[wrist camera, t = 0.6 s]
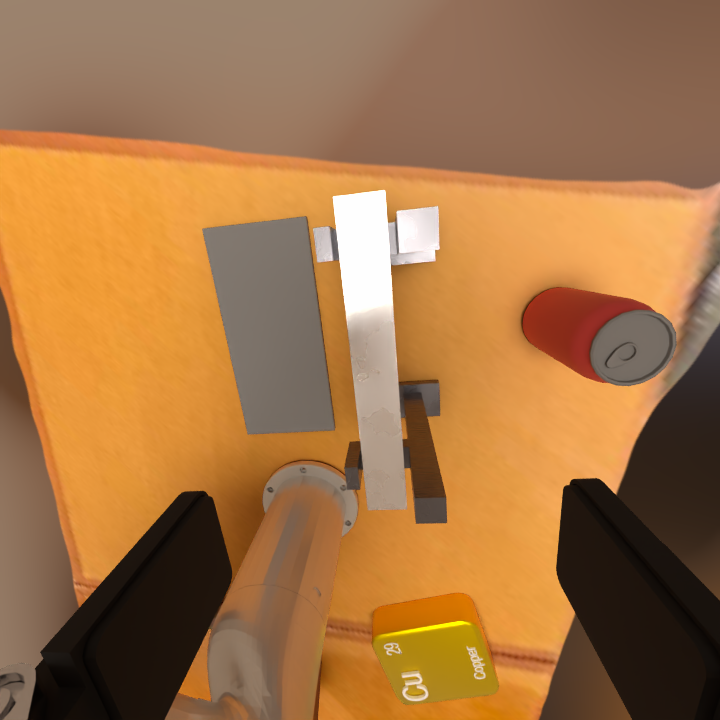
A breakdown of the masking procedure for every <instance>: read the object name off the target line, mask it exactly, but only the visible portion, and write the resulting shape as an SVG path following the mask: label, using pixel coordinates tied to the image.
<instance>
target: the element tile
mask: <svg viewBox="0 0 720 720" xmlns="http://www.w3.org/2000/svg"><path fill="white" fill-rule="evenodd" d="M372 647H373V649H374V651H375V653H376V655H377V657H378V659H379V661H380V663H381V666H382V668H383V670H384V672H385V674H386V676H387V678H388V680H389V682H390V684H391V686H392V688H393V690H394V693H395V695H396V697H397V698H398V699H399V700H400V701H401V702H402V703H403V704H406V705H414V704H422V703H431V702H439V701H447V700H455V699H463V698H471V697H480V696H487V695H492V694H495V693H496V692H497V690H498V688H499V681H498V678H497V674H496V670H495V666H494V662H493V658H492V654H491V651H490V648H489V645H488V643H487V640H486V637H485V634H484V631H483V628H482V626H481V623H480V620H479V617H478V614H477V611H476V609H475V606H474V603H473V601H472V599H471V598H470V597H469V596H468V595H466V594H462V593H453V594H447V595H441V596H436V597H430V598H425V599H419V600H414V601H408V602H403V603H397V604H392V605H386V606H381V607H379V608H377V609H375V611H374V612H373V624H372Z"/></svg>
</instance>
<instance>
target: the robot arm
mask: <svg viewBox="0 0 720 720" xmlns="http://www.w3.org/2000/svg"><path fill="white" fill-rule="evenodd" d="M262 503H263V508H264V512H265V516H264V518H263V520H262V522H261V524H260V526H259V529H258V531H257V533H256V535H255V537H254V539H253V541H252V543H251V545H250V547H249V549H248V551H247V554H246V556H245V558H244V560H243V562H242V564H241V566H240V568H239V570H238V572H237V574H236V577H235V579H234V581H233V583H232V585H231V587H230V589H229V591H228V593H227V595H226V598H225V600H224V602H223V604H222V606H221V608H220V610H219V612H218V614H217V617H216V619H215V621H214V624H213V627H212V630H211V634H210V638H209V644H208V653H207V669H208V680H209V688H210V695H211V702H210V701H207V700H203V699H200V698H198V700H197V699H195V698H192V697H189V696H186V695H183V694H180V693H178V691H179V689H180V687H181V685H182V683H183V681H184V679H185V677H186V675H187V673H188V670H189V668H190V666H191V664H192V662H193V660H194V658H195V656H196V654H197V652H198V650H199V648H200V646H201V644H202V642H203V639H204V637H205V635H206V633H207V631H208V629H209V627H210V625H211V623H212V621H213V619H214V617H215V615H216V613H217V611H218V608H219V606H220V604H221V602H222V600H223V598H224V596H225V594H226V592H227V590H228V588H229V586H230V583H231V579H232V568H231V564H230V561H229V557H228V553H227V549H226V546H225V542H224V538H223V534H222V531H221V527H220V523H219V519H218V516H217V512H216V508H215V504H214V501H213V498H212V497H210V496H208V494H207V493H206V492H205V491H188V492H182V493H181V494H180V495H179V496H178V497H177V498H176V499H175V500H174V501H173V503H172V504H171V505H170V506H169V507H168V508H167V509H166V511H165V512H164V513H163V514H162V515H161V516H160V517H159V518H158V520H157V521H156V522H155V523H154V524H153V525H152V526H151V527H150V529H149V530H148V531H147V532H146V533H145V534H144V535H143V537H142V538H141V539H140V540H139V541H138V542H137V543H136V544H135V546H134V547H133V548H132V549H131V550H130V551H129V552H128V554H127V555H126V556H125V557H124V558H123V559H122V560H121V561H120V563H119V564H118V565H117V566H116V567H115V568H114V569H113V570H112V572H111V573H110V574H109V575H108V576H107V577H106V578H105V580H104V581H103V582H102V583H101V584H100V585H99V586H98V587H97V589H96V590H95V591H94V592H93V593H92V594H91V595H90V597H89V598H88V599H87V600H86V601H85V602H84V603H83V604H82V606H81V607H80V608H79V609H78V610H77V611H76V612H75V613H74V615H73V616H72V617H71V618H70V619H69V620H68V621H67V623H66V624H65V625H64V626H63V627H62V628H61V630H60V631H59V632H58V633H57V634H56V635H55V636H54V637H53V638H52V639H51V641H50V642H49V643H48V644H47V645H46V646H45V648H44V649H43V650H42V651H41V652H40V653H41V654H42V656H43V658H44V659H43V660H42V661H41V662H40V663H39V665H38V666H37V667H36V668H35V669H34V668H33V667H32V666H31V665H30V664H25V663H18V664H14V665H9V666H6V667H4V668H2V669H0V720H313V715H314V706H315V698H316V690H317V682H318V676H319V669H320V663H321V656H322V650H323V644H324V638H325V633H326V627H327V621H328V615H329V609H330V603H331V597H332V591H333V585H334V579H335V573H336V567H337V561H338V555H339V549H340V543H341V538H342V537H343V536H344V535H345V534H347V533H348V532H349V531H350V529H351V528H352V527H353V525H354V523H355V521H356V518H357V514H358V505H359V504H358V497H357V494H356V491H355V490H347V484H346V477H345V475H343V474H342V473H341V472H340V471H338V470H337V469H335V468H333V467H331V466H329V465H326V464H323V463H321V462H315V461H298V462H292V463H290V464H287V465H284V466H283V467H281V468H279V469H278V470H277V471H276V472H275V473H274V474H273V475H272V476H271V477H270V479H269V480H268V482H267V484H266V486H265V488H264V492H263V501H262ZM556 571H557V576H558V580H559V582H560V585H561V587H562V589H563V590H564V592H565V594H566V596H567V598H568V600H569V602H570V604H571V605H572V607H573V609H574V611H575V613H576V615H577V617H578V619H579V620H580V622H581V624H582V626H583V628H584V630H585V632H586V633H587V635H588V637H589V639H590V641H591V643H592V645H593V647H594V649H595V651H596V652H597V654H598V656H599V658H600V660H601V662H602V664H603V666H604V667H605V669H606V671H607V673H608V675H609V677H610V679H611V681H612V682H613V684H614V686H615V688H616V690H617V692H618V694H619V695H620V697H621V699H622V701H623V703H624V705H625V707H626V709H627V711H628V712H629V714H630V716H631V718H632V720H720V601H719V600H718V598H717V597H716V596H714V594H713V593H712V592H711V591H710V590H709V589H708V588H707V587H706V586H705V585H704V584H703V583H702V582H701V581H700V580H699V579H698V578H697V577H696V576H695V575H694V574H693V573H692V572H691V571H690V570H689V569H688V568H687V567H686V566H685V565H684V564H683V563H682V562H681V561H680V559H679V558H678V557H677V556H676V555H675V554H674V553H672V551H671V550H670V549H669V548H668V547H667V546H666V545H665V544H663V543H662V542H661V541H660V540H659V539H658V538H657V537H656V536H655V535H654V534H653V533H652V532H651V531H650V530H649V529H648V528H647V527H646V526H645V525H644V524H643V523H642V521H641V520H640V519H638V517H637V516H636V515H635V514H634V513H633V512H632V511H630V509H629V508H628V507H627V506H626V505H625V504H624V503H623V502H622V501H621V500H620V499H619V498H618V497H617V496H616V495H615V494H614V493H613V492H612V491H611V490H610V489H609V487H608V486H607V485H606V484H605V483H604V482H603V481H601V480H600V479H597V478H592V479H573V480H571V482H570V485H566V486H565V487H564V489H563V497H562V509H561V520H560V531H559V543H558V554H557V565H556Z"/></svg>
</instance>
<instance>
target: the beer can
mask: <svg viewBox="0 0 720 720" xmlns="http://www.w3.org/2000/svg"><path fill="white" fill-rule="evenodd" d="M522 324H523V330H524V334H525V336H526V337H527V339H528V341H529V342H530V343H532V344H533V345H534V346H535V347H537V348H538V349H540V350H541V351H543V352H545V353H546V354H548V355H550V356H551V357H553V358H554V359H556V360H558V361H559V362H561V363H563V364H564V365H566V366H567V367H569V368H571V369H572V370H574V371H575V372H577V373H579V374H580V375H582V376H584V377H586V378H589V379H592V380H594V381H598V382H602V383H611V384H614V385H618V386H631V385H636V384H640V383H643V382H645V381H647V380H649V379H651V378H653V377H655V376H656V375H657V374H659V373H660V372H661V371H662V370H663V369H664V368H665V367H666V366H667V364H668V363H669V361H670V360H671V359H672V357H673V354H674V351H675V348H676V332H675V330H674V328H673V326H672V323H671V322H670V321H669V320H668V319H667V318H665V317H664V316H663V315H662V314H659V313H656V312H655V311H654V310H653V309H652V308H651V307H649V306H647V305H646V304H644V303H641V302H638V301H635V300H633V299H629V298H623V297H617V296H612V295H606V294H600V293H595V292H589V291H583V290H578V289H572V288H559V287H557V288H553V289H550V290H546V291H545V292H543V293H541V294H540V295H538V296H536V297H535V299H534V300H533V301H532V302H531V303H530V304H529V305H528V307H527V309H526V311H525V313H524V317H523V323H522Z"/></svg>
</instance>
